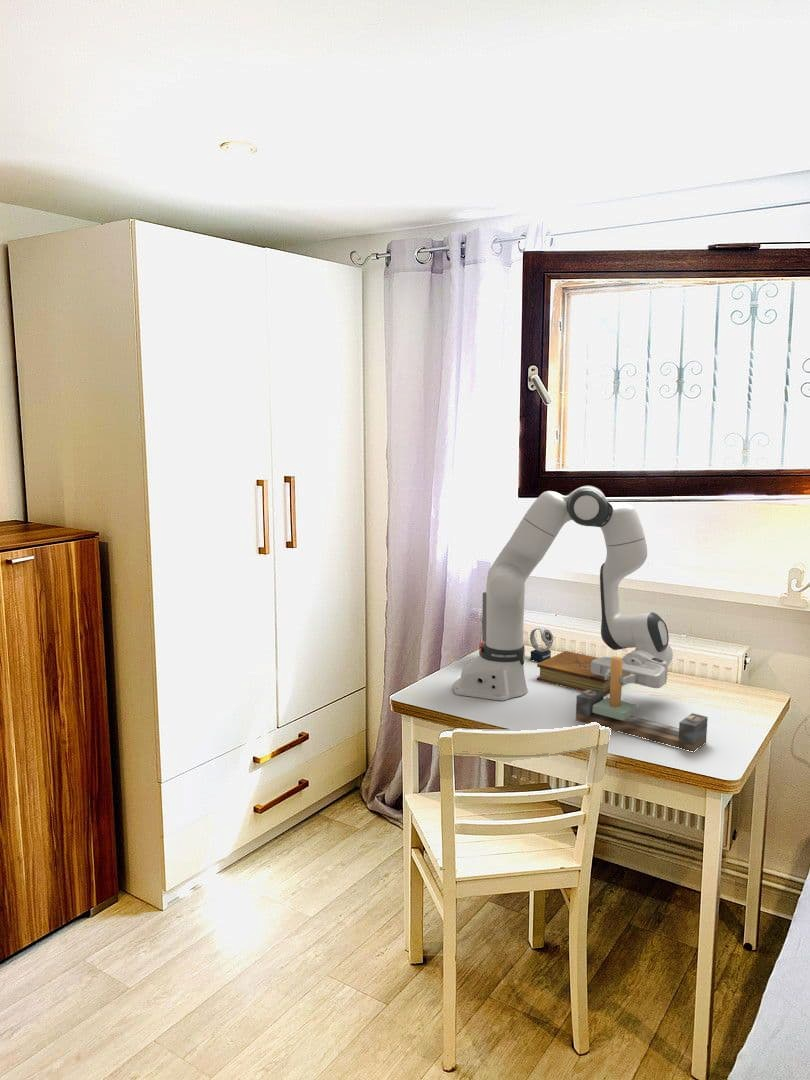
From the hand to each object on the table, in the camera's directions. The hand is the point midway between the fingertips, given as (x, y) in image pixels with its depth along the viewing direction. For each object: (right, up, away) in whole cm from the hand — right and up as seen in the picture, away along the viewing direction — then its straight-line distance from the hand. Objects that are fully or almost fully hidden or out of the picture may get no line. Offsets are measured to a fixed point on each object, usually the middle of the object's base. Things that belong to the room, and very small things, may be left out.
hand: (614, 679), depth 221 cm
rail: (+6, -13, -2) cm, 15 cm away
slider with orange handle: (+1, -9, +2) cm, 10 cm away
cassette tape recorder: (-24, -4, +55) cm, 61 cm away
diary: (0, -7, +39) cm, 39 cm away
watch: (-10, -3, +59) cm, 60 cm away
